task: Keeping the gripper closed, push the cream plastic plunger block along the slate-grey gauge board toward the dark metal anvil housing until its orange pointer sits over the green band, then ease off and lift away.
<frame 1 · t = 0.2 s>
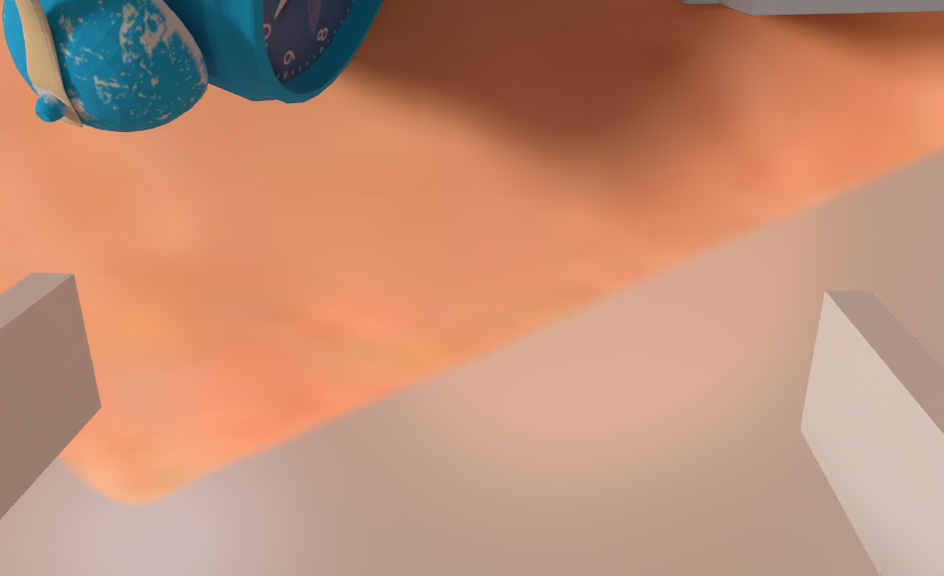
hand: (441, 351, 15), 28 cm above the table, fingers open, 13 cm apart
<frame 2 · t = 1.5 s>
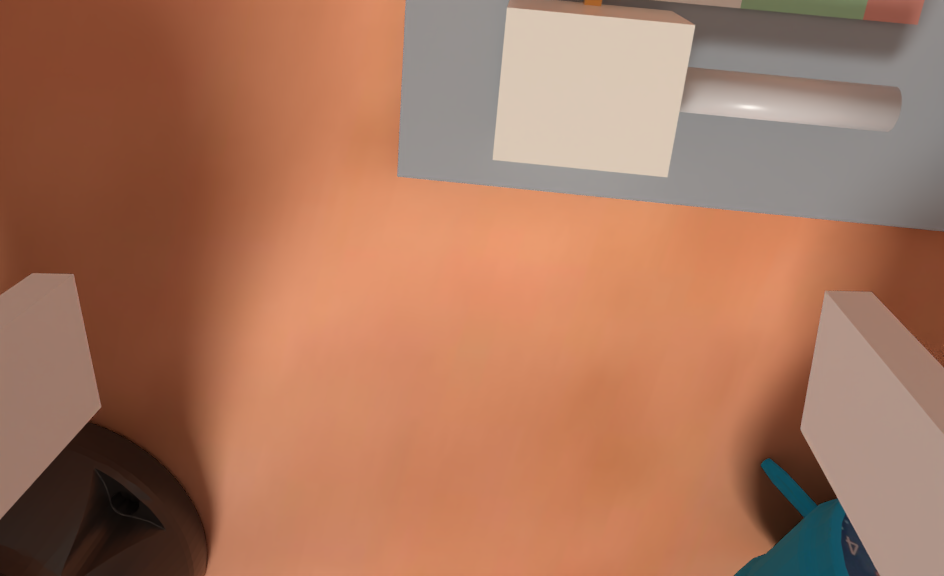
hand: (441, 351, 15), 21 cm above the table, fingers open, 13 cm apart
alarm clock: (837, 539, 42), on the table
gauge board: (755, 82, 33), on the table
plunger: (703, 64, 29), point 4 cm above the table, slide at 0.0 cm
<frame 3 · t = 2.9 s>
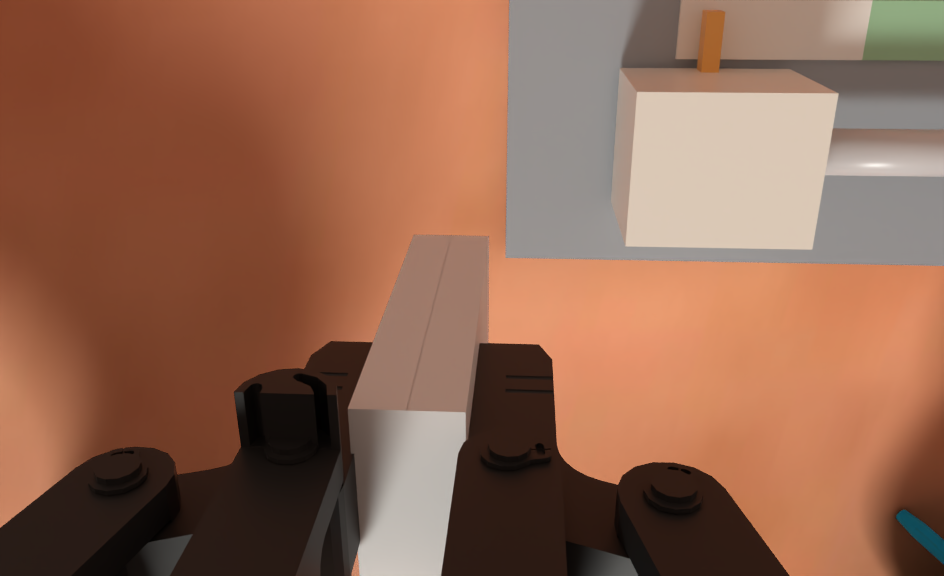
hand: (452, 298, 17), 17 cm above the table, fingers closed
gauge board: (875, 130, 32), on the table
plunger: (835, 126, 28), point 4 cm above the table, slide at 0.0 cm
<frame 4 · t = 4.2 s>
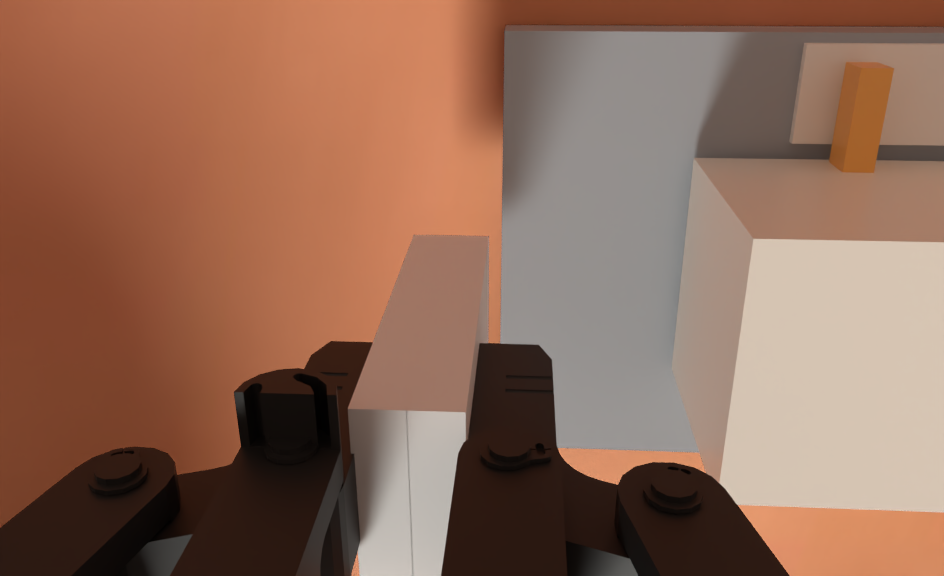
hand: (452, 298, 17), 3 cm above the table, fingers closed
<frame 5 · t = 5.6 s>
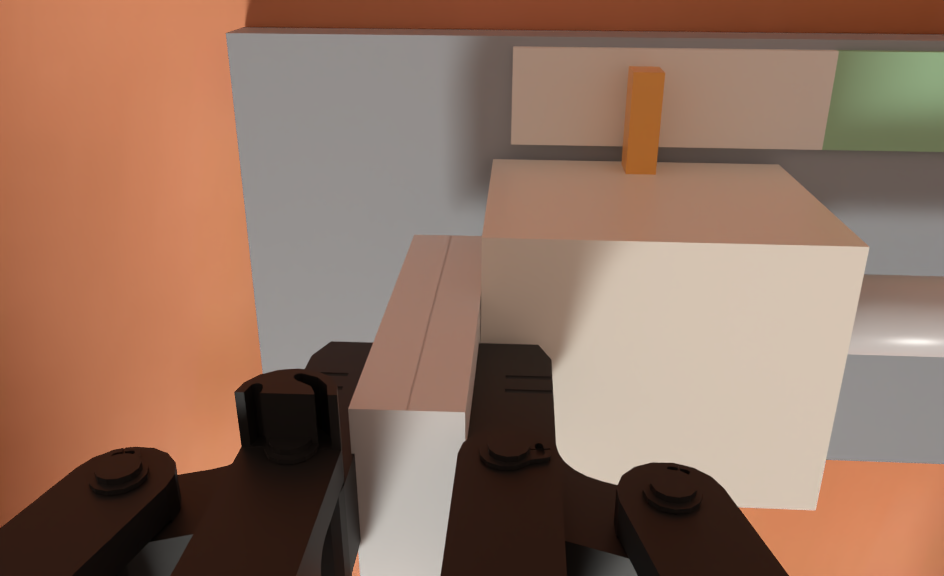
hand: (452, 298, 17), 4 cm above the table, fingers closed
gauge board: (847, 253, 20), on the table
plunger: (858, 276, 16), point 4 cm above the table, slide at 1.6 cm, touching gripper
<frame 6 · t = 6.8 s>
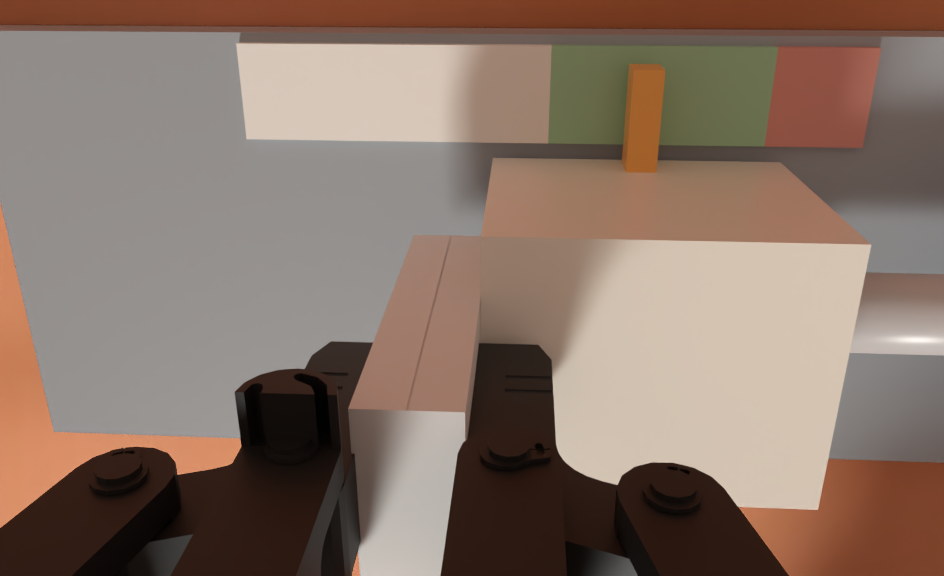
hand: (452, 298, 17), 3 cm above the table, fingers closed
gauge board: (605, 246, 20), on the table
plunger: (860, 274, 16), point 4 cm above the table, slide at 7.3 cm, touching gripper
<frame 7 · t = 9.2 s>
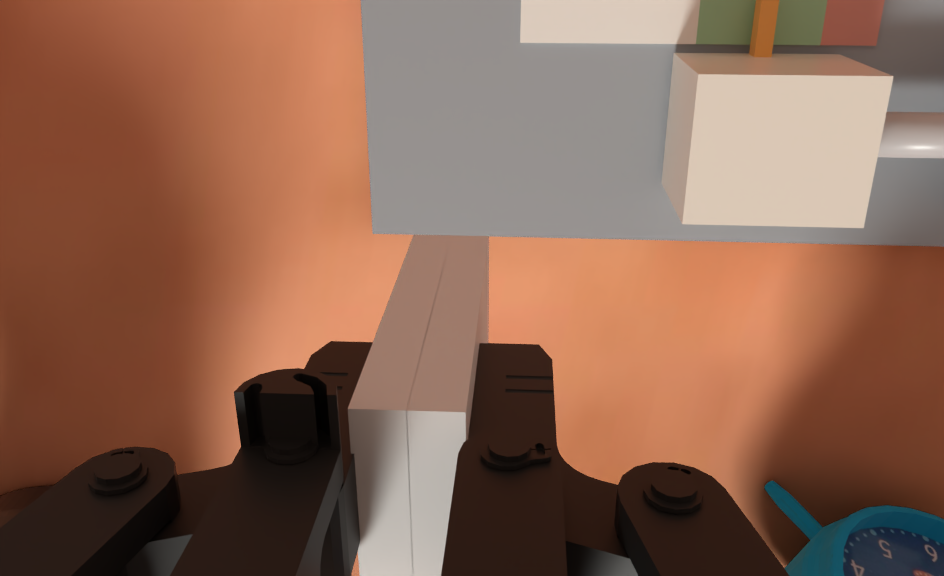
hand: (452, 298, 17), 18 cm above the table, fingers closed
alarm clock: (850, 555, 41), on the table
gauge board: (720, 112, 33), on the table
plunger: (885, 109, 29), point 4 cm above the table, slide at 7.7 cm
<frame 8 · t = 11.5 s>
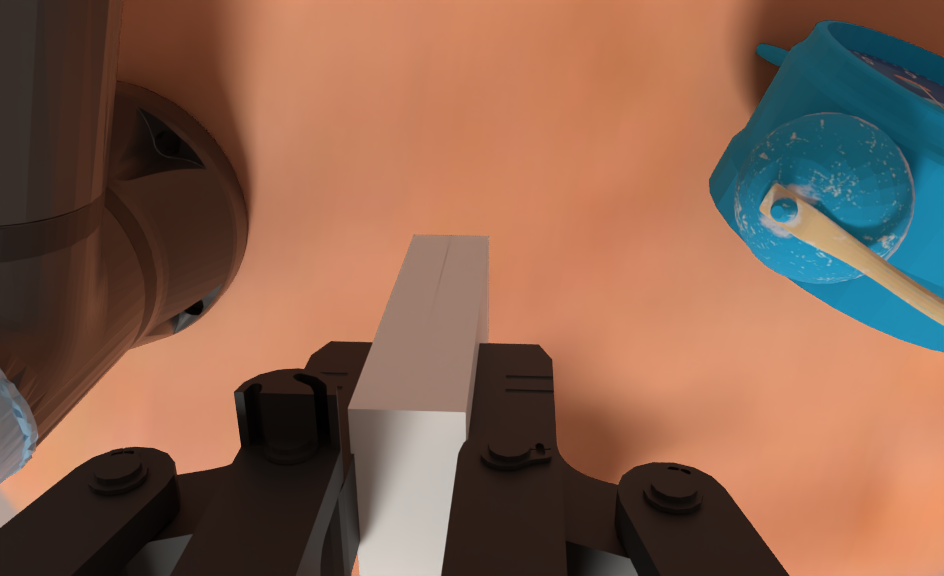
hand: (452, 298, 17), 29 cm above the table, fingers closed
alarm clock: (836, 132, 44), on the table
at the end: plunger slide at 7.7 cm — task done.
